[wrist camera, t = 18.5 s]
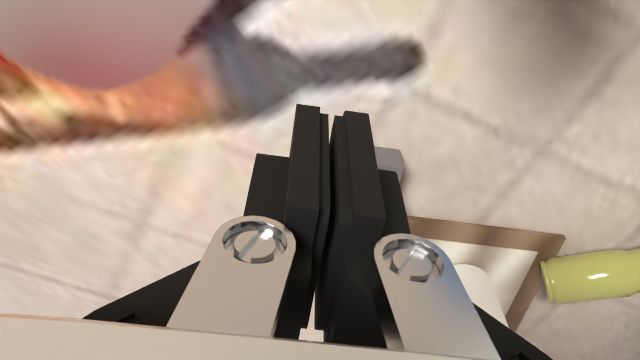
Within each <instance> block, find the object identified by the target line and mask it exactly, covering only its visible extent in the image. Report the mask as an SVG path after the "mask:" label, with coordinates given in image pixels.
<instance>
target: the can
mask: <svg viewBox="0 0 640 360" xmlns="http://www.w3.org/2000/svg"><path fill="white" fill-rule="evenodd" d="M453 266H454V268H455V270H456V272H457V274H458V276H459V278H460V280H461V282H462V284H463V286H464V288H465V290H466V292H467V294H468V296H469V297H470V299H471V301H472V302H473V303H474V304H476V305H477V306H478V307H480V308H481V309H483V310H484V311H485V312H487V313H488V314H490V315H491V316H493V317H494V318H495V319H497V320H498V321H500V322H501V323H502V324H504V325H505V326H507V327H508V324H507V321H506V319H505V316H504V314H503V311H502V308H501V306H500V303H499V301H498V298H497V296H496V293H495V291H494V288H493V285H492V283H491V281H490V278H489V276H488V275H487V273H486V272H485V271H483V270H482V269H480V268H478V267H476V266H473V265H469V264H453ZM508 328H509V327H508Z"/></svg>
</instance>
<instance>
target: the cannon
mask: <svg viewBox="0 0 640 360" xmlns="http://www.w3.org/2000/svg"><path fill="white" fill-rule="evenodd" d="M540 268H541V273H542V278H543V282H544V287H545V291H546V295H547V298H548V302H549V303H554V301H555V302H556V303H558V304H566V303H575V302H584V301H593V300H603V299H612V298H621V297H629V296H631V295H633V294H636V293H639V292H640V248H637V249H632V250H627V251H625V250H618V249H613V250H605V251H598V252H591V253H583V254H576V255H569V256H561V257H554V258H549V259H548V260H547V261H546V262H544V261H540Z"/></svg>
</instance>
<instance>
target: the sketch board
mask: <svg viewBox="0 0 640 360" xmlns="http://www.w3.org/2000/svg"><path fill="white" fill-rule="evenodd" d="M407 219H408V223H409V228H410V232H411V235H416V236H419V237H422V238H425V239H427V240H429V241H431V242H433V243H434V244H436V245H437V246H438V247H440V248H441V249H442V250H443V251H444V252H445V253H446V254H447V256H448V257H449V259H450V260H451V262H452V264H469V265H473V266H476V267H478V268H480V269H482V270H483V271H485V272H486V273H487V275H488V276H489V278H490V281H491V283H492V285H493V288H494V291H495V293H496V296H497V298H498V301H499V303H500V306H501V308H502V311H503V314H504V316H505V319H506V321H507V324H508V327H509V329H511V330H512V331H514V332H515V331H516V329H517V327H518V325H519V323H520V322H521V320H522V318H523V316H524V314H525V312H526V311H527V309H528V307H529V305H530V303H531V301H532V300H533V298H534V296H535V294H536V292H537V290H538V289H539V287H540V285H541V283H542V281H543V278H542V273H541V268H540V261H544V262H546V261H547V260H548V259H549V258H554V257H556V256H557V254H558V252H559V250H560V248H561V246H562V245H563V243H564V241H565V239H566V238H565V236H564V235H560V234H551V233H543V232H535V231H527V230H519V229H511V228H502V227H494V226H486V225H478V224H470V223H462V222H453V221H445V220H437V219H429V218H421V217H413V216H407Z"/></svg>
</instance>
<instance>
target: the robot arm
mask: <svg viewBox="0 0 640 360" xmlns="http://www.w3.org/2000/svg"><path fill="white" fill-rule="evenodd" d="M314 292H315V323H314V324H315V330H324V342H316V341H306V340H298V339H299V334H300V329H301V328H305V329H307V326H308V322H309V317H310V312H311V307H312V302H313V297H314ZM0 360H552V359H551V358H550V357H549V356H547V355H546V354H545V353H543V352H542V351H540V350H539V349H538V348H536V347H535V346H533V345H532V344H531V343H529V342H528V341H526V340H525V339H524V338H522V337H521V336H519V335H518V334H516V333H515V332H514V331H512V330H511V329H509V328H508V327H507V326H505V325H504V324H502V323H501V322H500V321H498V320H497V319H495V318H494V317H493V316H491V315H490V314H488V313H487V312H485V311H484V310H483V309H481V308H480V307H478V306H477V305H476V304H474V303H473V302H472V301H471V299H470V297H469V296H468V294H467V292H466V290H465V288H464V286H463V284H462V282H461V280H460V278H459V276H458V274H457V272H456V270H455V268H454V266H453V264H452V262H451V260H450V259H449V257H448V256H447V254H446V253H445V252H444V251H443V250H442V249H441V248H440V247H438V246H437V245H436V244H434V243H433V242H431V241H429V240H427V239H425V238H422V237H419V236H416V235H411V232H410V228H409V223H408V219H407V215H406V210H405V206H404V201H403V197H402V193H401V188H400V184H399V179H398V175H397V173H396V172H395V171H390V170H382V169H378V166H377V161H376V155H375V149H374V143H373V137H372V132H371V126H370V120H369V115H368V114H367V113H359V112H352V111H344V114H343V116H336V115H335V117H334V122H333V127H332V132H331V138H330V143H329V127H328V114H321V113H320V107H316V106H309V105H301V104H297V105H296V112H295V120H294V127H293V135H292V142H291V149H290V157H282V156H274V155H266V154H258V153H257V155H256V159H255V164H254V168H253V173H252V178H251V182H250V187H249V192H248V197H247V201H246V206H245V211H244V215H243V216H242V217H238V218H235V219H231V220H229V221H228V222H226V223H224V224H223V225H221V226H220V228H219V229H218V230H217V231H216V232H215V234H214V236H213V238H212V240H211V242H210V244H209V246H208V248H207V250H206V251H205V253H204V255H203V257H202V259H201V260H200V261H198V262H196V263H194V264H192V265H190V266H187V267H185V268H183V269H181V270H179V271H177V272H175V273H173V274H171V275H168V276H166V277H164V278H162V279H160V280H158V281H156V282H154V283H152V284H149V285H147V286H145V287H143V288H141V289H139V290H137V291H135V292H133V293H130V294H128V295H126V296H124V297H122V298H120V299H118V300H116V301H114V302H112V303H109V304H107V305H105V306H103V307H101V308H99V309H97V310H95V311H93V312H92V313H90V314H89V315H87V316H85V317H84V318H83V319H76V318H65V317H49V316H33V315H17V314H1V313H0Z"/></svg>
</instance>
